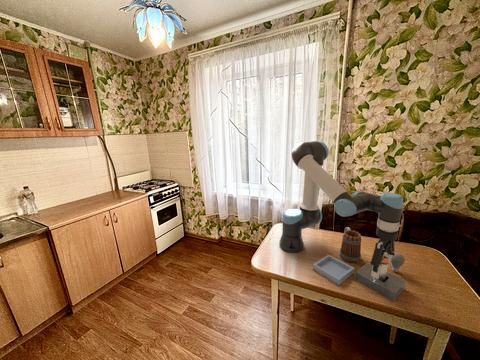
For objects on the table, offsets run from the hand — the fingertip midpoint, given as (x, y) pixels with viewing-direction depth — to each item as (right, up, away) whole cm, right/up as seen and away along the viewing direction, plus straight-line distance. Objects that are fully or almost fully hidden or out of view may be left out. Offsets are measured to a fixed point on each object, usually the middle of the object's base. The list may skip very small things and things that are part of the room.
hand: (380, 271), depth 91 cm
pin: (0, -7, +2) cm, 7 cm away
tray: (-17, -5, +11) cm, 21 cm away
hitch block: (0, -6, +2) cm, 7 cm away
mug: (-2, -1, +24) cm, 24 cm away
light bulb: (+14, -4, +9) cm, 17 cm away
